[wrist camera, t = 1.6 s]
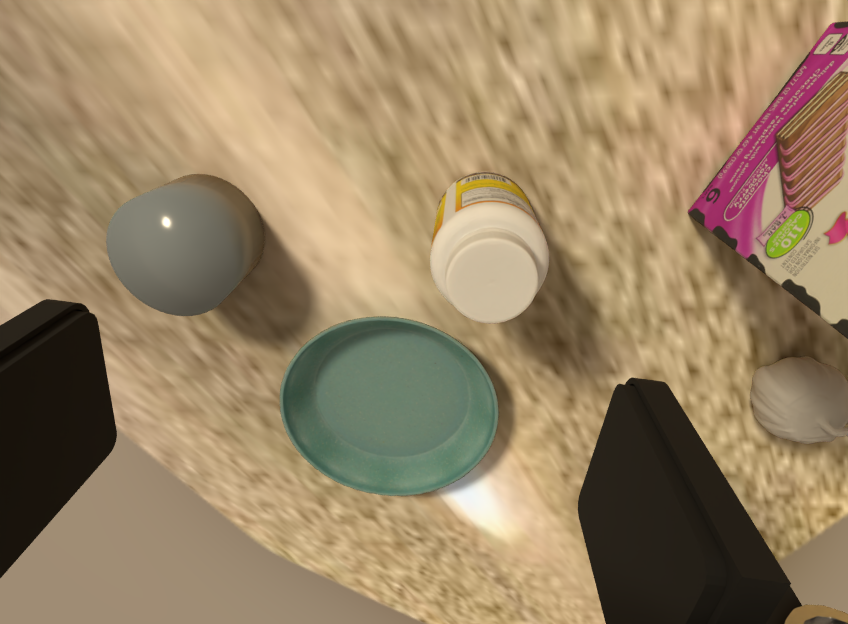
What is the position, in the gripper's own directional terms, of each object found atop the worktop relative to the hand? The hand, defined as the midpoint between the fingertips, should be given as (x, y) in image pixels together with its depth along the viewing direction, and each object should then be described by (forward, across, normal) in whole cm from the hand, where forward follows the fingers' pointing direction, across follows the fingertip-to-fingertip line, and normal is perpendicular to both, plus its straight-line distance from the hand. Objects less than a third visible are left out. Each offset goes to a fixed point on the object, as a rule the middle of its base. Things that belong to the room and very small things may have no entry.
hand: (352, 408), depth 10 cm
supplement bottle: (+24, -4, +2) cm, 24 cm away
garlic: (+24, -25, +11) cm, 36 cm away
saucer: (+24, 0, +16) cm, 29 cm away
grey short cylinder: (+24, +13, +6) cm, 27 cm away
